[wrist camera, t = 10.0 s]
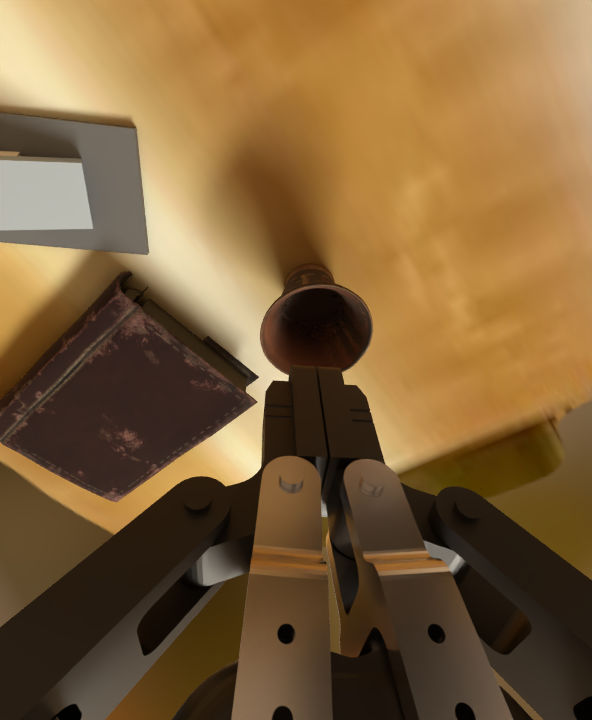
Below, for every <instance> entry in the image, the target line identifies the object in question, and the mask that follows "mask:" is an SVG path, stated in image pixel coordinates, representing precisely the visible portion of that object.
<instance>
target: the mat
mask: <svg viewBox="0 0 592 720" xmlns="http://www.w3.org/2000/svg"><path fill="white" fill-rule="evenodd" d="M0 151H12V152H20V155H21V156H27V157H52V158H78V159H82V163H83V169H84V175H85V181H86V186H87V192H88V198H89V203H90V209H91V215H92V221H93V229H54V230H0V242H4V243H15V244H27V245H39V246H50V247H62V248H73V249H85V250H97V251H108V252H120V253H131V254H143V255H148V253H149V248H148V238H147V228H146V218H145V208H144V198H143V188H142V178H141V168H140V159H139V149H138V139H137V129H136V128H132V127H124V126H115V125H106V124H98V123H89V122H81V121H72V120H63V119H55V118H46V117H37V116H29V115H20V114H11V113H3V112H0Z"/></svg>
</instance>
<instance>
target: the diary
mask: <svg viewBox="0 0 592 720" xmlns="http://www.w3.org/2000/svg"><path fill="white" fill-rule="evenodd" d="M131 275H132V273H131V272H130V271H128V272H122V273H120V275H119V276H118V277H117V278H116V279H115V280H114V281H113V282H112V283H111V284H110V285H109V286H108V288H107V289H106V290H105V291H104V292H103V293H102V294H101V295H100V296H99V297H98V299H97V300H96V301H95V302H94V303H93V304H92V305H91V306H90V307H89V308H88V310H87V311H86V312H85V313H84V314H83V315H82V316H81V317H80V318H79V319H78V320H77V321H76V322H75V323H74V324H73V325H72V326H71V327H70V328H69V329H68V330H67V331H66V332H65V333H64V334H63V335H62V336H61V337H60V338H59V339H58V340H57V341H56V342H55V343H54V344H53V345H52V346H51V347H50V348H49V349H48V350H47V351H46V352H45V354H44V355H43V356H42V357H41V358H40V359H39V360H38V361H37V362H36V364H35V365H34V366H33V367H32V368H31V369H30V370H29V371H28V373H27V374H26V375H25V376H24V377H23V378H22V379H21V380H20V381H19V383H18V384H17V385H16V386H15V387H14V388H12V389H11V390H10V391H9V392H8V393H7V394H6V395H5V396H4V397H3V398H2V399H1V400H0V442H1V444H3V445H5V446H6V447H8V448H10V449H12V450H14V451H16V452H18V453H20V454H22V455H23V456H25V457H27V458H28V459H30V460H32V461H34V462H35V463H37V464H39V465H40V466H42V467H44V468H46V469H47V470H49V471H51V472H53V473H55V474H56V475H58V476H60V477H62V478H64V479H66V480H68V481H70V482H72V483H74V484H76V485H78V486H79V487H81V488H84V489H86V490H88V491H90V492H92V493H95V494H97V495H99V496H101V497H103V498H105V499H108V500H110V501H114V502H118V501H119V500H120V499H122V498H123V497H125V496H126V495H127V494H129V493H130V492H131V491H133V490H134V489H136V488H137V487H138V486H140V485H141V484H143V483H144V482H145V481H147V480H148V479H150V478H151V477H152V476H154V475H155V474H156V473H158V472H159V471H161V470H162V469H163V468H165V467H166V466H167V465H169V464H170V463H171V462H173V461H174V460H176V459H177V458H178V457H180V456H181V455H183V454H184V453H186V452H187V451H189V450H190V449H192V448H193V447H195V446H196V445H198V444H199V443H201V442H203V441H204V440H206V439H207V438H209V437H210V436H212V435H213V434H215V433H216V432H217V431H219V430H220V429H222V428H223V427H224V426H226V425H227V424H228V423H230V422H231V421H232V420H234V419H235V418H237V417H238V416H239V415H241V414H242V413H243V412H245V411H246V410H248V409H249V408H250V407H252V406H253V405H254V404H256V403H257V401H256V400H255V399H254V398H252V397H251V396H250V395H249V394H247V393H246V387H247V386H248V385H249V384H251V383H252V382H253V381H255V380H256V379H257V378H259V377H258V376H257V375H256V374H255V373H253V372H252V371H251V370H250V369H248V368H247V367H246V366H245V365H243V364H242V363H241V362H240V361H238V360H237V359H236V358H235V357H233V356H232V355H231V354H230V353H228V352H227V351H226V350H225V349H223V348H222V347H221V346H220V345H219V344H217V343H216V342H215V341H214V340H212V339H211V338H210V337H209V336H207V337H206V338H205V339H204V340H203V341H202V340H201V339H199V338H198V337H197V336H196V335H194V334H193V333H192V332H191V331H189V330H188V329H187V328H186V327H184V326H183V325H182V324H181V323H179V322H178V321H177V320H176V319H175V318H173V317H172V316H171V315H170V314H168V313H167V312H166V311H165V310H163V309H162V308H161V307H160V306H158V305H157V304H156V303H155V302H153V301H152V300H149V301H147V302H146V303H144V304H143V305H142V306H141V307H140V306H139V304H138V303H135V302H136V301H137V300H138V299H139V298H140V297H141V296H142V295H143V292H144V291H145V290H146V289H147V288H148V287H147V288H146V289H145V290H144V291H143V292H141V291H139V290H132V289H128V290H127V291H126V292H125V293H123V292H122V291H121V289H120V287H121V286H122V285H123V284H124V282H125V281H126V280H127V279H128V278H129V277H130V276H131Z"/></svg>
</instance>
